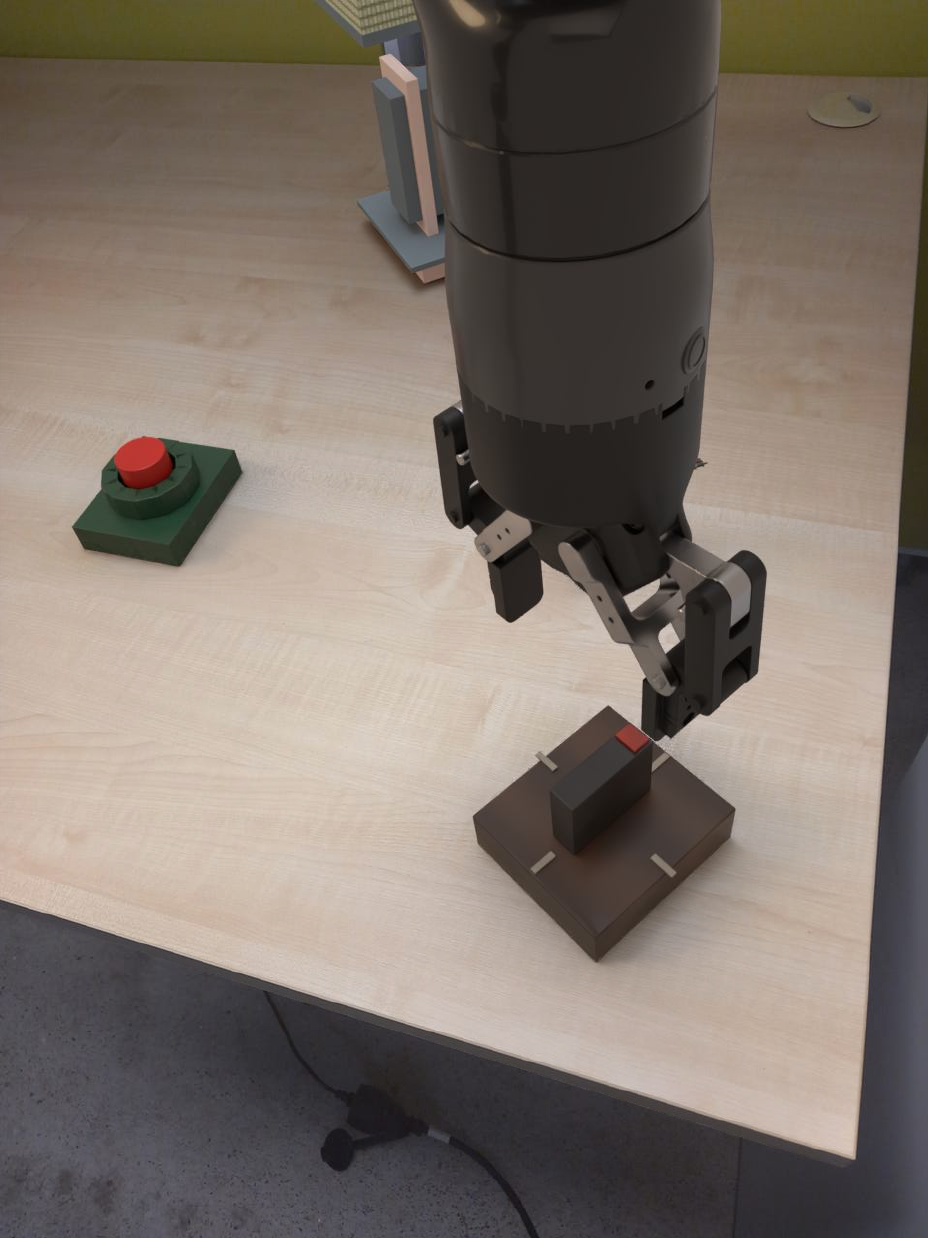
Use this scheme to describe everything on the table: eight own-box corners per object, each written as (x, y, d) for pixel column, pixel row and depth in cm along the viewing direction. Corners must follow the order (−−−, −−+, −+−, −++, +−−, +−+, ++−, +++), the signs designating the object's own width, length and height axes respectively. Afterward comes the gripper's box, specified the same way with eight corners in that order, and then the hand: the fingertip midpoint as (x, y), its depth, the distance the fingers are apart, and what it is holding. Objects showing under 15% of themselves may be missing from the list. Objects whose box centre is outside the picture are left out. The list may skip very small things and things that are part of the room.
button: (157, 492, 71) (148, 474, 70) (113, 485, 72) (104, 466, 71) (182, 458, 73) (174, 439, 72) (139, 452, 74) (130, 433, 73)
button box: (179, 566, 71) (160, 526, 68) (83, 548, 74) (60, 508, 71) (242, 471, 77) (227, 430, 74) (152, 457, 80) (133, 416, 76)
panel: (601, 968, 50) (600, 943, 48) (473, 839, 55) (466, 810, 53) (736, 841, 54) (742, 811, 51) (603, 730, 59) (603, 698, 57)
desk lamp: (524, 171, 102) (497, -249, 77) (591, 233, 93) (585, -219, 69) (353, 226, 99) (268, -195, 74) (407, 296, 90) (330, -156, 65)
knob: (574, 856, 51) (572, 808, 47) (552, 835, 52) (548, 786, 48) (651, 788, 53) (654, 738, 49) (628, 769, 54) (630, 718, 50)
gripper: (339, 302, 33) (415, 621, 45) (674, 516, 25) (655, 830, 38) (511, 206, 36) (538, 533, 48) (863, 373, 28) (787, 711, 40)
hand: (590, 663), depth 43 cm, fingers open, 8 cm apart
